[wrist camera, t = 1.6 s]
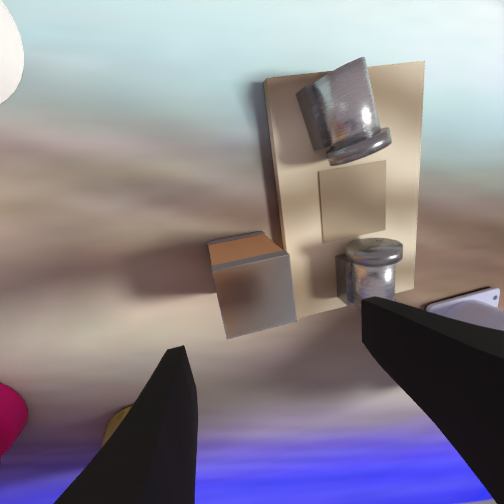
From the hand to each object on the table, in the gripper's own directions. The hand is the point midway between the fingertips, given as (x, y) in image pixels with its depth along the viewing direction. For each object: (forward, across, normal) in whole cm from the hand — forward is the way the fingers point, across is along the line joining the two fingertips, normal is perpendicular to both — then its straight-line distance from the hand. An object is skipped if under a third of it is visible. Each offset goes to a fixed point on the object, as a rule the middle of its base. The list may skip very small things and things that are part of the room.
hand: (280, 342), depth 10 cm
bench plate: (+10, -9, -3) cm, 14 cm away
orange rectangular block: (+10, 0, 0) cm, 10 cm away
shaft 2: (+10, -9, +2) cm, 14 cm away
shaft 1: (+10, -8, -9) cm, 15 cm away
